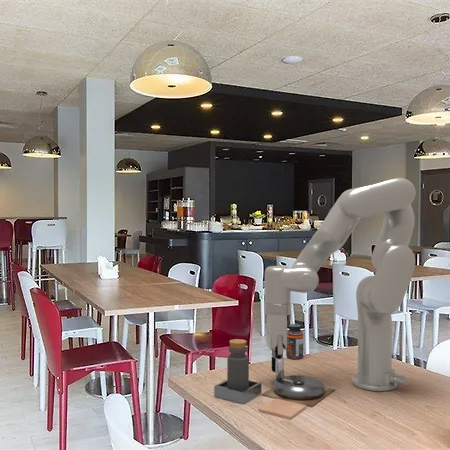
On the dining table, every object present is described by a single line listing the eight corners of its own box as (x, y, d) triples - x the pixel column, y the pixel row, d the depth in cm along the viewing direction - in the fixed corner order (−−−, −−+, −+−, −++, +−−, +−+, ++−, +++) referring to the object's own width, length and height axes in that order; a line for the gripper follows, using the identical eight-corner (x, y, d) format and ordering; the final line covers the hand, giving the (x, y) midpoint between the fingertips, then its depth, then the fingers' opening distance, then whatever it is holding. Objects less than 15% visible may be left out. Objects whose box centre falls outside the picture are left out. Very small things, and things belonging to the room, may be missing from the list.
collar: (261, 393, 140) (261, 382, 140) (243, 404, 132) (243, 392, 132) (233, 387, 145) (233, 376, 145) (214, 396, 138) (214, 385, 138)
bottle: (246, 399, 135) (246, 344, 135) (225, 398, 136) (225, 343, 136) (250, 392, 141) (250, 338, 141) (229, 390, 142) (229, 337, 142)
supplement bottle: (282, 356, 176) (282, 324, 176) (294, 354, 180) (294, 322, 179) (294, 360, 171) (294, 327, 171) (306, 357, 175) (307, 325, 175)
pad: (306, 407, 130) (306, 405, 130) (290, 419, 122) (290, 416, 122) (276, 400, 135) (276, 398, 135) (258, 411, 127) (258, 408, 127)
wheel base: (334, 390, 142) (334, 389, 142) (312, 407, 130) (312, 405, 130) (287, 380, 151) (287, 379, 151) (261, 395, 138) (261, 394, 138)
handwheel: (332, 388, 142) (332, 360, 142) (311, 403, 131) (311, 372, 130) (287, 378, 150) (287, 352, 150) (263, 392, 139) (263, 363, 139)
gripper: (261, 304, 155) (261, 363, 155) (268, 313, 140) (268, 379, 140) (286, 303, 155) (285, 363, 155) (295, 313, 140) (294, 379, 140)
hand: (277, 370), depth 148 cm, fingers closed
